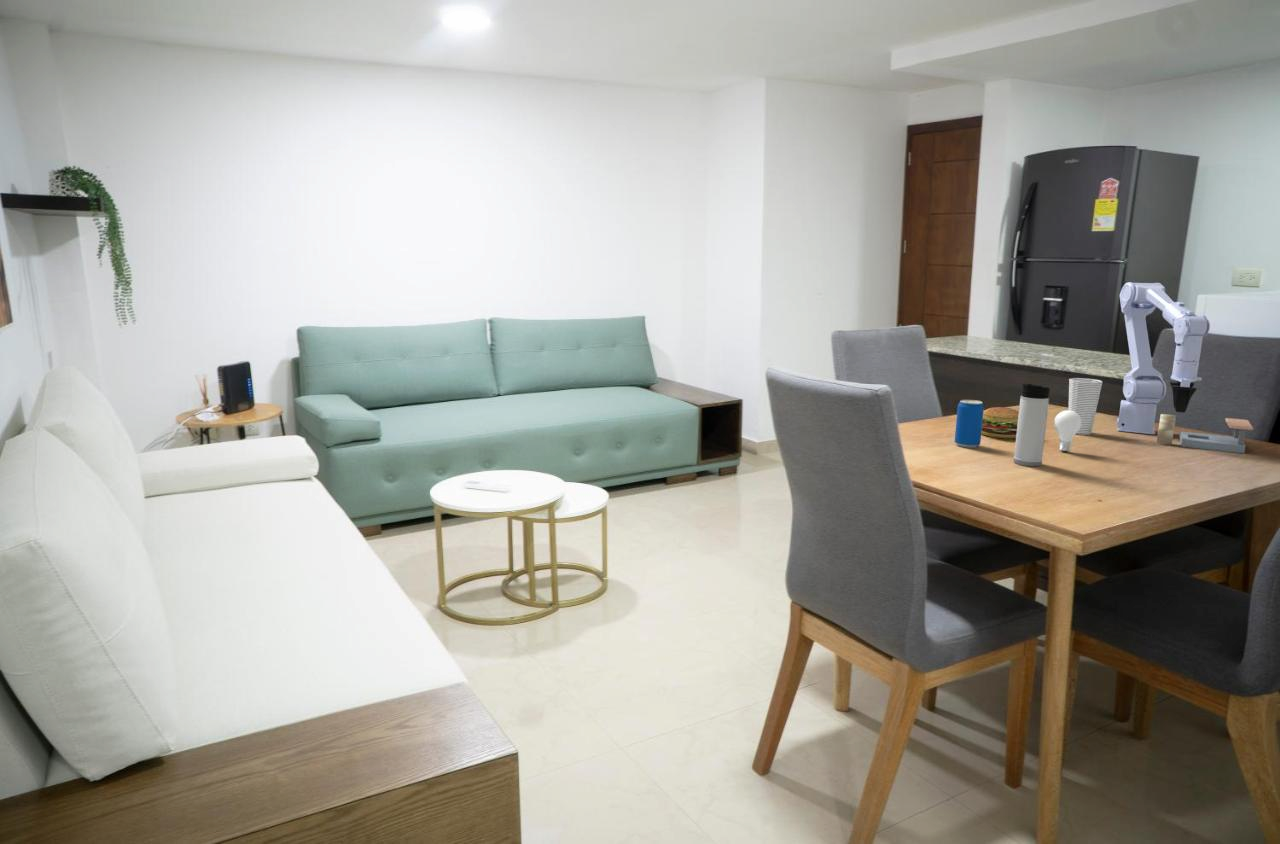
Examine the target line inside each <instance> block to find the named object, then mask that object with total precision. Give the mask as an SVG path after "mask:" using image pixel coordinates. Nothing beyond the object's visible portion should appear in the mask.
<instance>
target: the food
mask: <svg viewBox="0 0 1280 844" xmlns="http://www.w3.org/2000/svg"><path fill="white" fill-rule="evenodd" d="M1018 416H1019V410H1016V409H1013V408H1011V407H1002V406H997V407H996V406H995V407H990V408H987V409H985V410H984V411H983V421H982V432H981V436H982V435H983V436H985V437H988V438H989V437H990V438H995V439H1004V440H1005V439H1006V440H1007V439H1008V440H1014V439H1015V440H1016V434H1017V425H1018Z"/></svg>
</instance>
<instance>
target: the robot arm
mask: <svg viewBox="0 0 1280 844" xmlns="http://www.w3.org/2000/svg"><path fill="white" fill-rule="evenodd" d="M1119 300H1120V301H1119V302H1120V308H1121V313H1122V314H1124V322H1125V330H1126V336H1127V343H1128V349H1129V350H1128V351H1129V352H1128V353H1129V358H1130V364H1131V370H1130V371H1129V372H1127V373H1126V374H1125V375H1124V376H1123V387H1122V392H1123V393H1122V394H1123V396H1124V398H1125V399H1126V400H1124V399H1120V400H1121V401H1120V408H1119V415H1118V418H1117V419H1116V425H1117V431H1118V432H1128V433H1137V434H1146V435H1156V432H1155V431H1156V429H1155V421H1156V413H1157V406H1158V404H1160V403H1161V401H1162V400H1163V399H1164V398H1165V396H1166V394H1167V385H1166V382H1165V381H1164V378H1163V374H1162V372H1160V371H1158V370H1157V369H1155V368H1154V367H1153V360H1152V354H1151V347H1150V339H1149V333H1148V328H1147V320H1146V317H1147V316H1148V315H1151V314H1152V313H1153V312H1154V311H1155V310H1156V309H1159V310H1160V311H1161V312H1162V318H1163V319H1164V320H1165V321H1167V322H1168V324H1170V325H1171V326H1172V327H1173V328H1172V329H1173V333H1174V343H1176V346H1175V352H1174V358H1173V365H1172V371H1171V372H1172V373H1171V375H1170V379H1171V380H1173V381H1170V382H1169V384H1170V387H1171V391H1172V399H1173V400H1172V401H1173V408H1174V409H1175V412H1176V413H1183V414H1184V413H1186V411H1187V408H1188V406H1189V404H1190V400H1191V398H1192V397H1193V395H1194V394H1195V393H1196V391H1198V390H1197V389H1198V388H1196V387H1194V385H1195V383H1194V382H1197V381H1199V382H1200V381H1202V379H1203V378H1202V377H1198V371H1199V365H1200V358H1201V351H1202V344H1203V338H1205V337H1206V336H1207V335H1208V333H1209V331H1210V328H1211V323H1210V321H1209V319H1208V317H1207V316H1206V315H1196V314H1195V312H1194V311H1193V310H1191V309H1189V308H1188V307H1187V306H1186V304H1185V303H1184V302H1183V301H1173V299H1171V298H1170V296H1169V295H1168V294H1167V293H1166V288H1165V286H1164V285H1163V284H1162V283H1160V282H1151V283H1150V282H1142V283H1141V282H1130V281H1129V282H1126V283H1125V284H1123V286H1122V287H1121V290H1120V293H1119Z"/></svg>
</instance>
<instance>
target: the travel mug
mask: <svg viewBox="0 0 1280 844" xmlns="http://www.w3.org/2000/svg"><path fill="white" fill-rule="evenodd" d="M1050 392H1051V387H1049V386H1047V387H1045V386H1042V385H1039V384H1038V385H1037V384H1032V383H1026V382H1023V383H1021V393H1020V399H1019V409H1018V412H1019V416H1018V425H1017V434H1016V438H1015V445H1014V456H1013V463H1015V464H1016V465H1019V466H1022V467H1023V466H1025V467H1040V466H1042V464H1043V463H1042V462H1043V456H1044V446H1045V436H1046V431H1047V430H1046V428H1047V419H1048V411H1049V403H1050Z"/></svg>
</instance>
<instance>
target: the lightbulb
mask: <svg viewBox="0 0 1280 844" xmlns="http://www.w3.org/2000/svg"><path fill="white" fill-rule="evenodd" d="M1053 424H1054V425H1053V426H1054V427H1055V429H1056V431H1057V434H1058V439H1059V446H1058V447H1059V448H1058V449H1059V450H1060V451H1061V452H1062V453H1066V452H1070V451H1071V448H1072V447H1071V446H1072V442H1073V440H1074V438H1075V437H1074V436H1075V435H1077V434H1076V433H1077V432H1078V430H1079V429H1080V427H1081V424H1082V421H1081V417H1080V416H1079V415H1078V414H1077V413H1076V412H1074V411H1071V410H1068V409H1067V410H1062V411H1060V412H1059V413H1057V414H1056V415H1055V417H1054V422H1053Z"/></svg>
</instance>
